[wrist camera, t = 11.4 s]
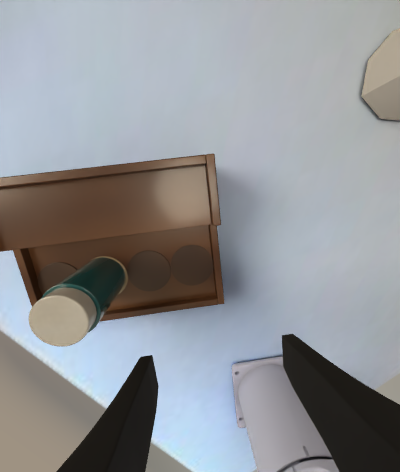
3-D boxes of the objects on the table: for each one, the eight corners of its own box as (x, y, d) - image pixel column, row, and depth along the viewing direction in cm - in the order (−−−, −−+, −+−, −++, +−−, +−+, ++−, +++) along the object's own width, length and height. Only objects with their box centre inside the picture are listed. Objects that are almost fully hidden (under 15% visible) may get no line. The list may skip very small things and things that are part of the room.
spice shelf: (219, 290, 21) (230, 320, 16) (58, 312, 20) (16, 351, 15) (206, 165, 18) (214, 153, 13) (20, 186, 18) (-48, 182, 13)
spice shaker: (129, 292, 18) (98, 344, 12) (88, 298, 18) (35, 354, 12) (121, 254, 17) (83, 288, 11) (78, 260, 17) (15, 297, 11)
